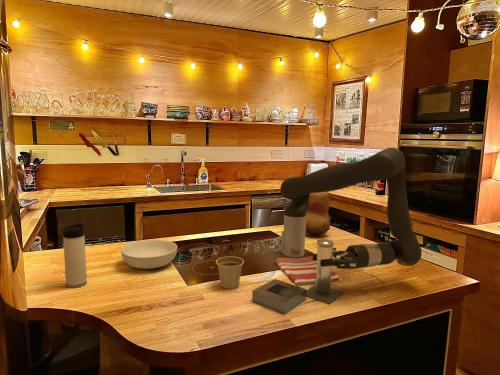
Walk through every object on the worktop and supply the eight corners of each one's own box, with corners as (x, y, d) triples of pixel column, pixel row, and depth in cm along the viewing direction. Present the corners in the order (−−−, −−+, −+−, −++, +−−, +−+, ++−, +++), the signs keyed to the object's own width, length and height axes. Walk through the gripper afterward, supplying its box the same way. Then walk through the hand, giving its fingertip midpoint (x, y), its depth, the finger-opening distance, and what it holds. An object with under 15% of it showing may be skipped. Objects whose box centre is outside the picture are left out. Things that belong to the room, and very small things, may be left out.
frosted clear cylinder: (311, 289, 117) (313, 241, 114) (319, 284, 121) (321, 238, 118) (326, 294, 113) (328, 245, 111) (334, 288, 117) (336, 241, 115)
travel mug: (91, 281, 123) (88, 224, 120) (76, 289, 117) (73, 229, 114) (77, 278, 125) (74, 222, 122) (61, 286, 119) (58, 227, 116)
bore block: (252, 301, 111) (252, 290, 111) (274, 288, 120) (275, 278, 120) (284, 314, 104) (285, 302, 103) (306, 299, 113) (306, 289, 112)
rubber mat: (301, 294, 116) (301, 293, 116) (316, 285, 124) (316, 283, 124) (329, 304, 110) (329, 303, 110) (343, 293, 118) (343, 292, 118)
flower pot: (222, 293, 116) (222, 268, 115) (211, 282, 124) (211, 258, 123) (248, 288, 120) (248, 263, 119) (236, 278, 129) (236, 254, 127)
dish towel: (312, 260, 149) (313, 254, 149) (341, 283, 127) (341, 276, 127) (274, 263, 145) (274, 257, 145) (296, 288, 123) (296, 280, 122)
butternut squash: (301, 238, 179) (303, 188, 175) (302, 231, 192) (304, 184, 188) (329, 240, 177) (332, 189, 173) (328, 232, 190) (331, 185, 186)
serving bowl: (109, 269, 134) (108, 251, 133) (145, 252, 153) (144, 237, 152) (156, 278, 127) (155, 260, 126) (187, 260, 146) (187, 243, 145)
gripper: (375, 274, 113) (326, 280, 108) (351, 259, 127) (306, 263, 122) (377, 251, 112) (328, 256, 107) (352, 238, 126) (307, 242, 121)
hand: (316, 260), depth 115 cm, fingers closed on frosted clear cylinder, 4 cm apart
